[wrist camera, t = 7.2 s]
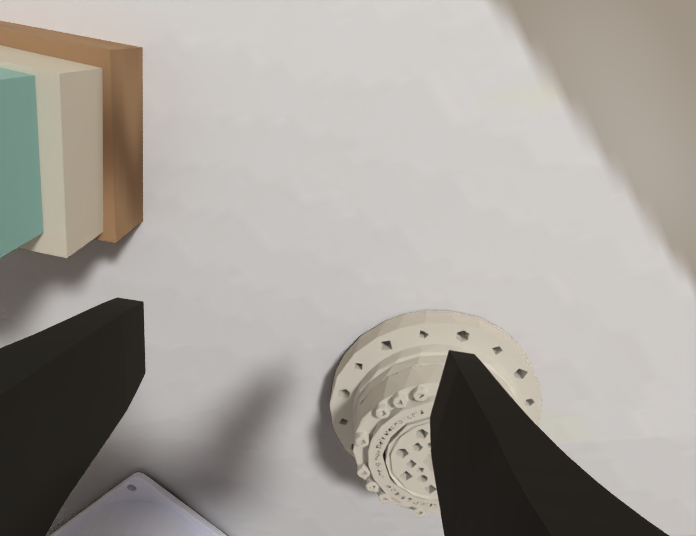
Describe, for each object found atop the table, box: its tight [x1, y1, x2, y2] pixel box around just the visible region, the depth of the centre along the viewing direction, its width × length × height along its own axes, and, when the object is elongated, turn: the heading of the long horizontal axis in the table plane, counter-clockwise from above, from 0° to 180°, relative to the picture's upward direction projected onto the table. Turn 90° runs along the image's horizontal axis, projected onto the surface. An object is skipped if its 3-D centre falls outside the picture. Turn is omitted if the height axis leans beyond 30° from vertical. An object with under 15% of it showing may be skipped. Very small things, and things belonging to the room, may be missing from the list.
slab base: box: [0, 21, 143, 243], centre depth 19 cm, size 7×7×3 cm
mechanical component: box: [330, 311, 542, 517], centre depth 23 cm, size 10×4×10 cm
